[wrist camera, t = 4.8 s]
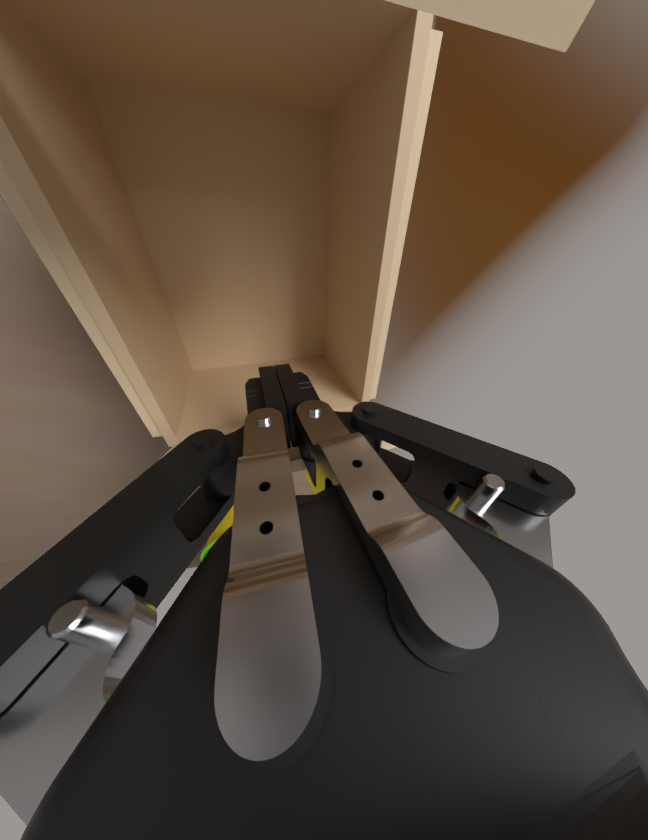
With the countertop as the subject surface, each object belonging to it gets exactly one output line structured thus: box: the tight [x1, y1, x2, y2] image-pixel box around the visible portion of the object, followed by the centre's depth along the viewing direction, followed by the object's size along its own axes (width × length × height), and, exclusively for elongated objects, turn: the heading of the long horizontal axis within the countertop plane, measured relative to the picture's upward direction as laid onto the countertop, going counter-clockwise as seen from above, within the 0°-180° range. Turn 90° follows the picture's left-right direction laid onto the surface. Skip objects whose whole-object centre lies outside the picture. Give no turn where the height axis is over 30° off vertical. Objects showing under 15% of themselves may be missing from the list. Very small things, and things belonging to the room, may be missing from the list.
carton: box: [0, 0, 443, 447], centre depth 14 cm, size 17×15×10 cm
